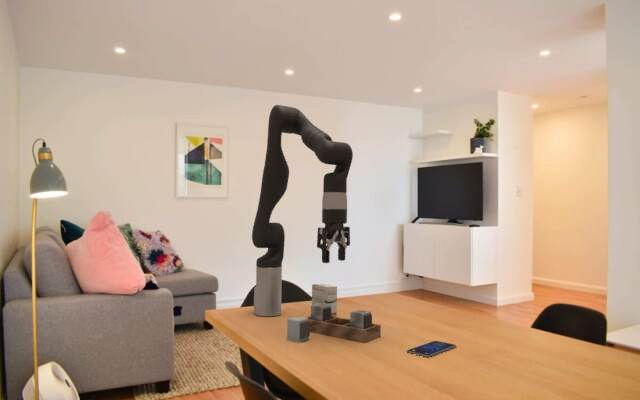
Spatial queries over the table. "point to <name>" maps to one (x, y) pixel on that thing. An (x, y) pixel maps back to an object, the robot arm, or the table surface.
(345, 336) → the wooden compartment tray
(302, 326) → the grey cube
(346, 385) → the table surface
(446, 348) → the smartphone
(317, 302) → the ink box
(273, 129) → the robot arm
